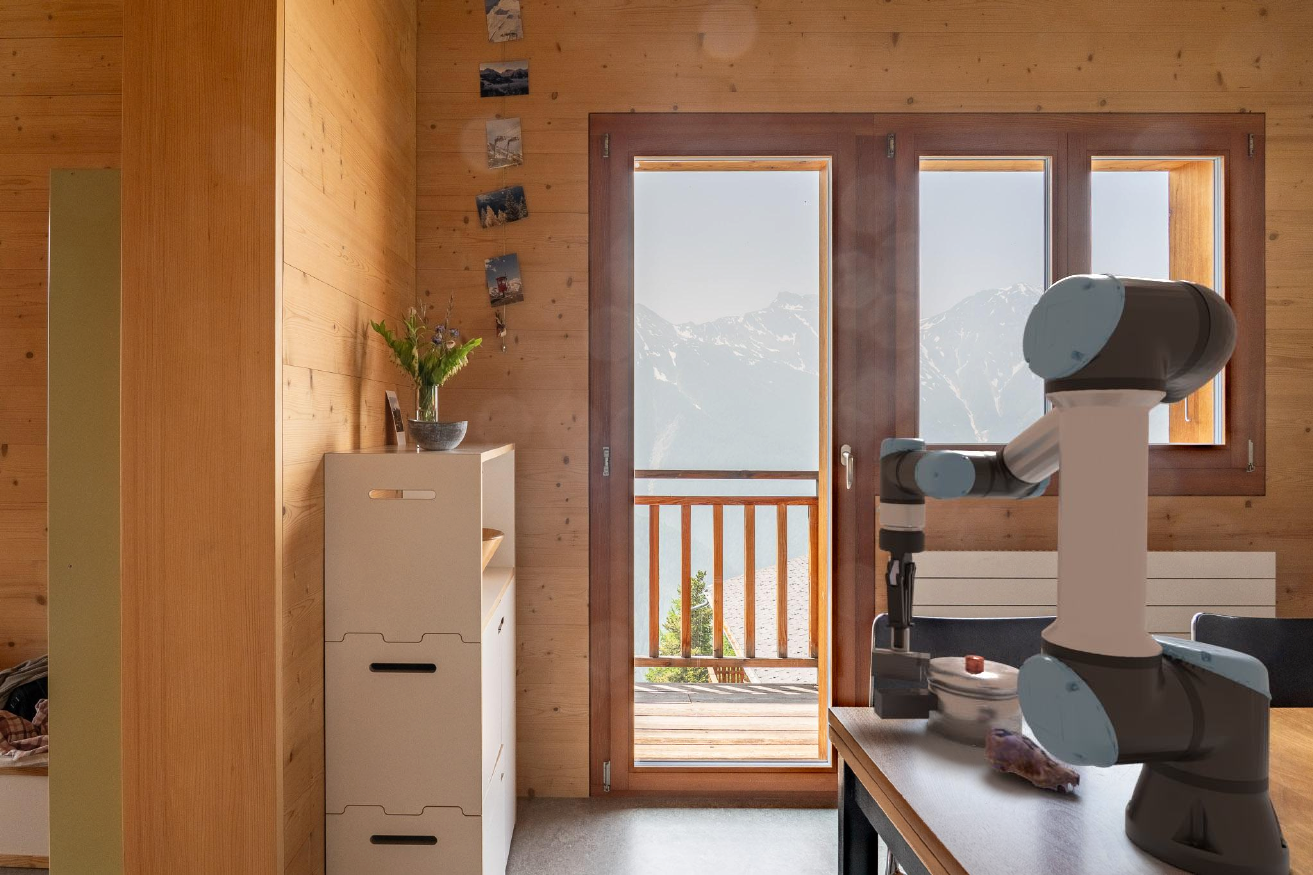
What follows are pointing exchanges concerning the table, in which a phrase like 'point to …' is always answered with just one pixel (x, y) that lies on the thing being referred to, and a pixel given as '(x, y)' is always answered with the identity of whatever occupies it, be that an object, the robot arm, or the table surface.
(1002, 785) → the table surface
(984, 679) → the lid
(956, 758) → the table surface
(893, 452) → the robot arm
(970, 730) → the pot
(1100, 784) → the table surface
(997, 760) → the skull
